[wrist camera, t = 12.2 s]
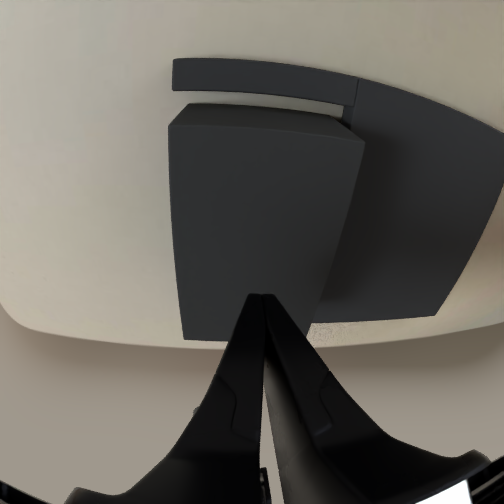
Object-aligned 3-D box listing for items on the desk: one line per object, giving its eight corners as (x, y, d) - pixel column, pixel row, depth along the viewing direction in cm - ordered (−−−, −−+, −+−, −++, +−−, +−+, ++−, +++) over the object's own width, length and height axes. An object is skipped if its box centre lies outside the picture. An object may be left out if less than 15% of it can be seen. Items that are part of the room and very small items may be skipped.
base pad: (428, 304, 20) (434, 316, 19) (185, 306, 18) (183, 321, 17) (504, 134, 11) (517, 141, 10) (178, 58, 10) (172, 58, 9)
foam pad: (293, 287, 18) (304, 341, 14) (190, 283, 17) (183, 340, 14) (330, 115, 11) (366, 142, 8) (187, 103, 11) (167, 124, 8)
